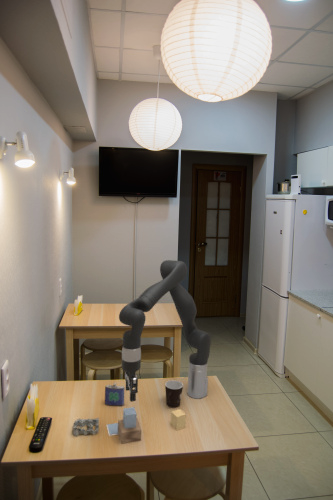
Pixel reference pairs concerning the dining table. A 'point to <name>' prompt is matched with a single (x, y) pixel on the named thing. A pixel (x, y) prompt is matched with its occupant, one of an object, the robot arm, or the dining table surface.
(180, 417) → the ochre block
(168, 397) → the coffee mug
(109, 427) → the tile
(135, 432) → the base block
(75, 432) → the egg carton
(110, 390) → the flask
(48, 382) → the dining table surface
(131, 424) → the blue block
